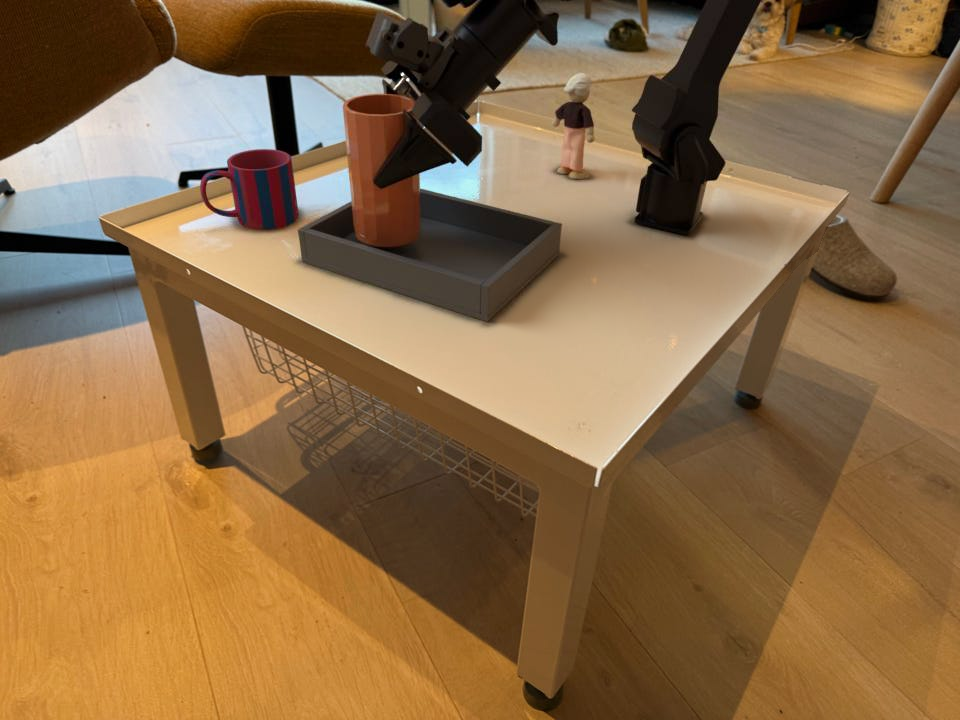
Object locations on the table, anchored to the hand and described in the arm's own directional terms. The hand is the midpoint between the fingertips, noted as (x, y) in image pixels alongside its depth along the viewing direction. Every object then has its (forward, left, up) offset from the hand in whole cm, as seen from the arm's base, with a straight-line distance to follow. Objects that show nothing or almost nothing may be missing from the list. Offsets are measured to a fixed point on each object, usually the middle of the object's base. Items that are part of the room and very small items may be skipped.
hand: (370, 171), depth 68 cm
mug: (+16, +1, -9) cm, 18 cm away
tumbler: (-1, -1, -7) cm, 7 cm away
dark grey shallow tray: (-6, -2, -9) cm, 11 cm away
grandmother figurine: (-8, -33, -9) cm, 35 cm away
